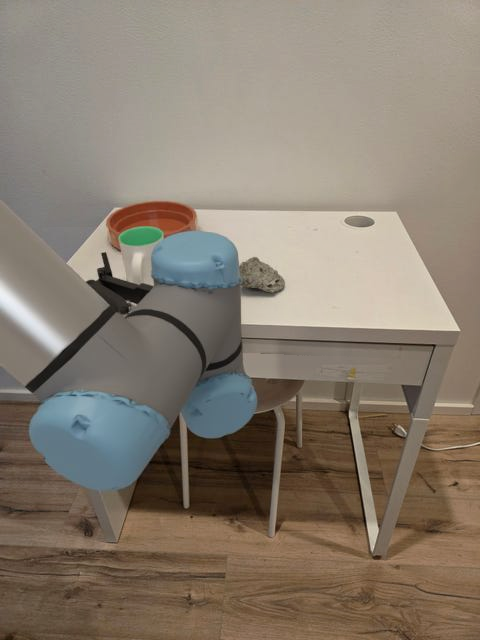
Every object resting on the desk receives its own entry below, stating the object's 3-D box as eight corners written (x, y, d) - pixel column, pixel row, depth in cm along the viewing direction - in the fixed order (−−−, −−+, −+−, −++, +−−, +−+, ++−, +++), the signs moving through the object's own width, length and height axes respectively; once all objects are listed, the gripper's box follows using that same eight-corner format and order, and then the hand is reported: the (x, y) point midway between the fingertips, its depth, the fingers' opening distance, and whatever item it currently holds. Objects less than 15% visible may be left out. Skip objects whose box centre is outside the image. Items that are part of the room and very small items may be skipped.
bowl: (107, 260, 94) (103, 241, 91) (112, 222, 110) (108, 205, 107) (202, 250, 97) (201, 232, 94) (193, 214, 113) (191, 197, 110)
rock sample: (283, 287, 76) (256, 245, 77) (249, 310, 80) (224, 269, 80) (298, 282, 86) (274, 245, 87) (267, 303, 89) (244, 267, 90)
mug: (167, 306, 79) (159, 255, 73) (122, 308, 79) (111, 257, 73) (170, 272, 89) (164, 225, 83) (131, 274, 89) (122, 227, 82)
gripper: (85, 376, 52) (73, 288, 68) (276, 327, 59) (224, 257, 75) (68, 326, 47) (60, 244, 63) (277, 279, 54) (222, 216, 70)
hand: (149, 251), depth 69 cm, fingers open, 13 cm apart
